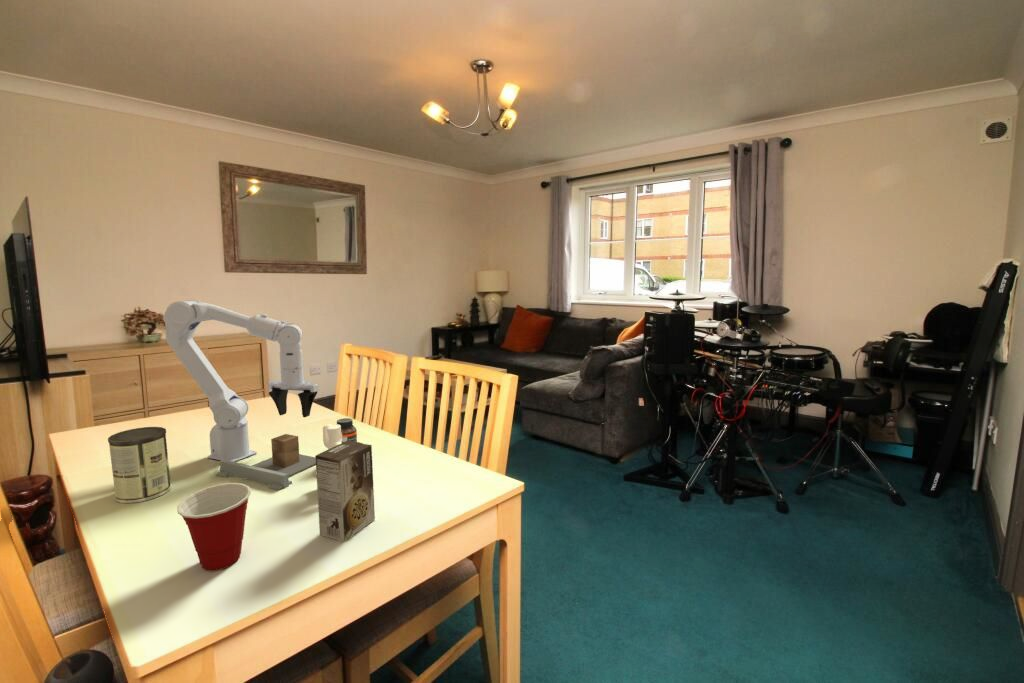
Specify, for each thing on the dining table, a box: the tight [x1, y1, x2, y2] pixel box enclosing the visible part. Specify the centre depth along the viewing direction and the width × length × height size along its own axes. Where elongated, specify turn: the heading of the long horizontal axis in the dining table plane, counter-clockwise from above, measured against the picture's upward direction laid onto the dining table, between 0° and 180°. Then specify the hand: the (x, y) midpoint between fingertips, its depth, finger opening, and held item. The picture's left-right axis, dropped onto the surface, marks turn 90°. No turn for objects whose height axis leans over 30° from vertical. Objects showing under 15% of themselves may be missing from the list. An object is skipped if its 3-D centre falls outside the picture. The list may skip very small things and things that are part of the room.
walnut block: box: [271, 433, 300, 468], centre depth 125 cm, size 4×4×7 cm
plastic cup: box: [176, 482, 252, 572], centre depth 82 cm, size 11×11×12 cm
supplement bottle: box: [336, 417, 358, 443], centre depth 128 cm, size 6×6×11 cm
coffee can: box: [107, 426, 172, 504], centre depth 108 cm, size 10×10×14 cm
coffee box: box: [314, 441, 376, 542], centre depth 94 cm, size 9×6×16 cm
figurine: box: [314, 423, 342, 476], centre depth 111 cm, size 7×9×15 cm
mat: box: [251, 453, 316, 479], centre depth 126 cm, size 14×12×1 cm
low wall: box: [216, 460, 293, 491], centre depth 117 cm, size 22×4×3 cm, turn 67°
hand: (294, 415), depth 135 cm, fingers open, 7 cm apart
